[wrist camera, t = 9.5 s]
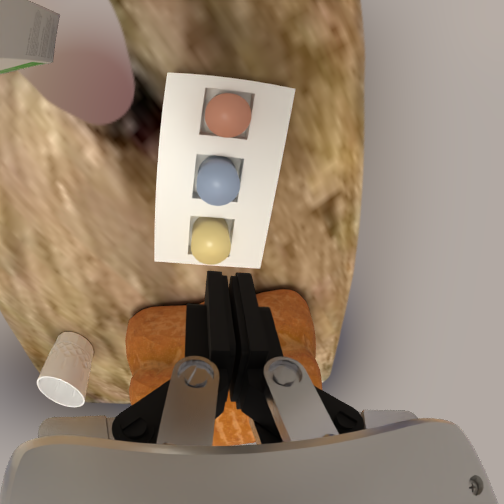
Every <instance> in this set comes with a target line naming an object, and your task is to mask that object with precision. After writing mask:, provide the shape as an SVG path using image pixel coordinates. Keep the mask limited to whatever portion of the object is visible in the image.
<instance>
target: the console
mask: <svg viewBox="0 0 504 504" xmlns="http://www.w3.org/2000/svg"><path fill="white" fill-rule="evenodd" d="M222 93H232V94H236V95H239V96H241V97H242V98H243V99H245V100H246V102H247V103H248V104H249V106H250V109H251V121H250V124H249V126H248V127H247V129H246V130H245V131H244V132H243V133H241V134H240V135H238V136H235V137H231V138H225V137H220V136H218V135H216V134H214V133H213V132H212V131H211V130H210V129H209V128H208V126H207V124H206V121H205V110H206V107H207V104H208V102H209V101H210V100H211V99H212V98H213V97H215V96H216V95H218V94H222ZM294 94H295V89H293V88H289V87H284V86H278V85H273V84H267V83H262V82H255V81H249V80H242V79H235V78H227V77H219V76H209V75H198V74H185V73H167V79H166V86H165V94H164V102H163V111H162V120H161V130H160V141H159V153H158V166H157V183H156V205H155V261H158V262H171V263H185V264H199V265H207V264H203V263H201V262H199V261H198V260H197V259H195V257H194V256H193V254H192V251H191V240H192V228H193V224H194V222H195V221H196V220H197V219H198V218H199V217H200V216H201V217H213V218H223V219H224V220H225V221H226V223H227V225H228V230H229V237H230V243H231V250H230V254H229V255H228V257H227V258H226V259H225V260H224V261H222V262H221V263H218V264H214V266H229V267H244V268H260V266H261V261H262V256H263V252H264V247H265V242H266V237H267V232H268V227H269V222H270V217H271V212H272V207H273V202H274V197H275V192H276V187H277V182H278V177H279V172H280V167H281V162H282V156H283V151H284V146H285V141H286V136H287V131H288V125H289V120H290V115H291V110H292V105H293V99H294ZM214 155H215V156H225V157H227V158H228V159H230V160H231V161H232V162H233V164H234V165H235V168H236V171H237V174H238V177H239V180H240V190H239V193H238V195H237V196H236V198H235V199H234V200H233V201H231V202H230V203H228V204H226V205H222V206H214V205H210V204H208V203H206V202H204V201H203V200H202V199H201V198H200V196H199V194H198V192H197V187H196V184H197V175H198V169H199V166H200V165H201V163H202V162H203V161H204V160H205V159H206V158H208V157H211V156H214Z"/></svg>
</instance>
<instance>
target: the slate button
mask: <svg viewBox="0 0 504 504" xmlns="http://www.w3.org/2000/svg"><path fill="white" fill-rule="evenodd" d="M196 187H197V192H198V194H199V196H200V198H201V199H202V200H203V201H204V202H206V203H208V204H210V205H214V206H222V205H226V204H228V203H230V202H231V201H233V200H234V199H235V198H236V196H237V195H238V193H239V190H240V180H239V177H238V174H237V171H236V168H235V165H234V164H233V162H232V161H231V160H230V159H228V158H227V157H225V156H215V155H214V156H211V157H208V158H206V159H205V160H204V161H203V162H202V163H201V165H200V166H199V169H198V175H197V184H196Z"/></svg>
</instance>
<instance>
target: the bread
mask: <svg viewBox="0 0 504 504" xmlns="http://www.w3.org/2000/svg"><path fill="white" fill-rule="evenodd" d="M256 297H257V302H258V306H259V307H269V308H270V309H271V313H272V316H273V320H274V323H275V327H276V331H277V334H278V338H279V342H280V345H281V349H282V352H283V356H284V357H289V358H292V359H294V360H297V361H298V362H299V363H301V364H302V365H303V367H304V368H305V370H306V371H307V373H308V375H309V377H310V379H311V381H312V383H313V385H314V386H316V387H317V388H319V389H321V390H322V381H321V374H320V369H319V367H318V364H317V362H316V360H315V355H316V340H315V331H314V325H313V322H312V318H311V314H310V310H309V307H308V305H307V303H306V301H305V300H304V299H303V298H302V297H301V296H300V295H299V294H298V293H297V292H295V291H292V290H287V289H279V290H273V291H268V292H262V293H259V294H256ZM200 304H204V302H202V303H200ZM185 329H186V305H182V306H158V307H150V308H146V309H143V310H141V311H140V312H138V313H137V314H135V315H134V316H133V317H132V318H131V319H130V320H129V322H128V328H127V334H126V340H125V341H126V353H127V359H128V363H129V366H130V369H131V372H132V376H133V377H132V379H131V383H130V388H129V394H130V402H131V405H133V404H135V403H136V402H138V401H139V400H141V399H142V398H144V397H145V396H147V395H148V394H149V393H151V392H152V391H154V390H155V389H157V388H158V387H160V386H161V385H162V384H164V383H165V382H167V381H168V380H170V379H171V375H172V371H173V368H174V366H175V364H176V363H177V362H178V361H179V360H181V359H183V358H185ZM253 442H256V441H255V438H254V435H253V432H252V430H251V427H250V424H249V417H248V416H247V415H246V414H244V413H243V412H242V411H241V409H237V408H236V402H231V400H230V393H229V392H228V398H227V402H225V407H224V412H223V413H222V414H221V415H220V416H218V417H217V418H216V419H215V424H214V434H213V444H212V446H231V445H240V444H246V443H253Z"/></svg>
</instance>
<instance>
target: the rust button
mask: <svg viewBox="0 0 504 504" xmlns="http://www.w3.org/2000/svg"><path fill="white" fill-rule="evenodd" d="M205 121H206V124H207V126H208V128H209V129H210V130H211V131H212V132H213V133H214V134H216V135H218V136H220V137H225V138H231V137H235V136H238V135H240V134H241V133H243V132H244V131H245V130H246V129H247V127H248V126H249V124H250V121H251V109H250V106H249V104H248V103H247V102H246V100H245V99H243V98H242V97H241V96H239V95H236V94H232V93H222V94H218V95H216V96H215V97H213V98H212V99H211V100H210V101H209V102H208V104H207V107H206V110H205Z"/></svg>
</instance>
